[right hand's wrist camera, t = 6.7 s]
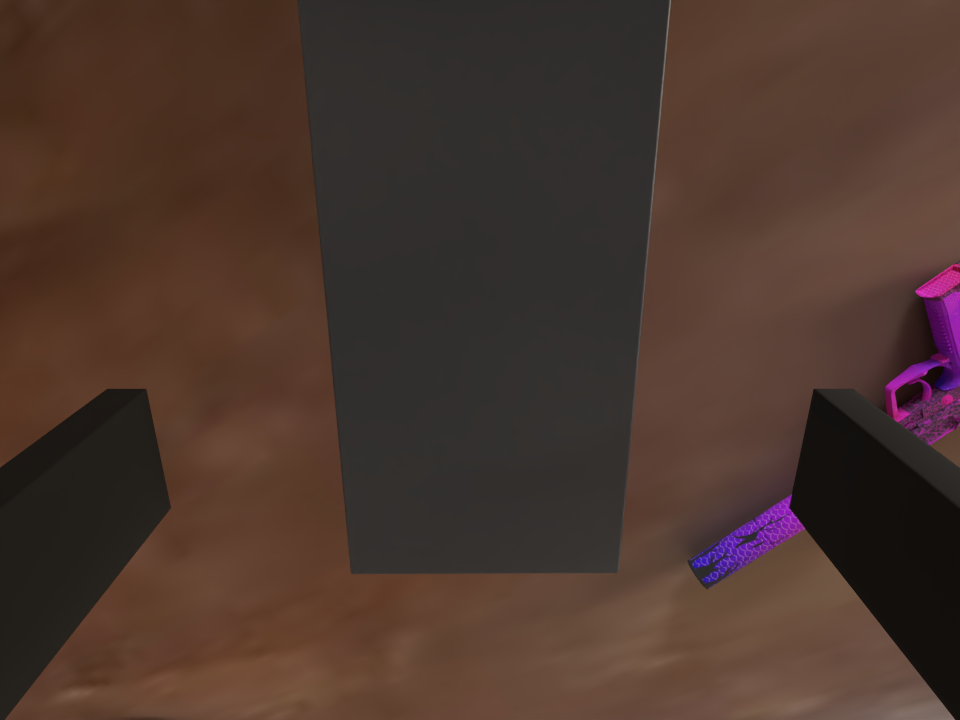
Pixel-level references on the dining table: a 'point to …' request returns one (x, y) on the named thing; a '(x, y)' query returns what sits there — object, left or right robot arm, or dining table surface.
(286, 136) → the dining table surface
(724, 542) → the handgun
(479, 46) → the box
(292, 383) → the dining table surface
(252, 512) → the dining table surface
